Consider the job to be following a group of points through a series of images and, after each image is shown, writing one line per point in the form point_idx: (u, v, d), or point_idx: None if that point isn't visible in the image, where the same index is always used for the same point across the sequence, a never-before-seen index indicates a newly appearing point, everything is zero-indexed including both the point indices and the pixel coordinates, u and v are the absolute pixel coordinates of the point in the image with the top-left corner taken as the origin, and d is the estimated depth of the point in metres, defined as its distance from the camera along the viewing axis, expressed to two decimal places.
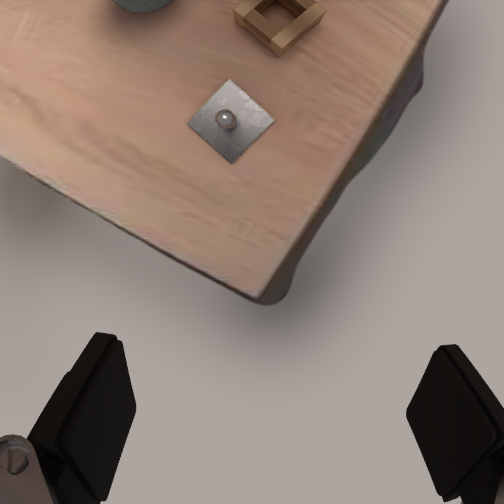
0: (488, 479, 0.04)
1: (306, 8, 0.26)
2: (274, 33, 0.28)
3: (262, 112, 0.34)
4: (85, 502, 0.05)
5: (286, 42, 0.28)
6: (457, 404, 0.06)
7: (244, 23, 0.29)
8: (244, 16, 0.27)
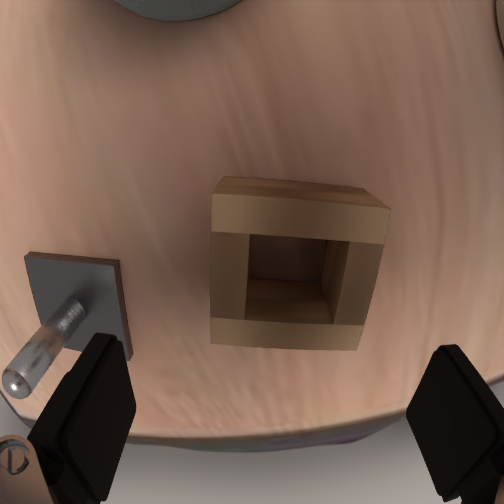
0: (488, 479, 0.04)
1: (335, 321, 0.14)
2: (227, 313, 0.14)
3: None
4: (85, 502, 0.05)
5: (229, 342, 0.15)
6: (457, 404, 0.06)
7: None
8: (216, 230, 0.13)
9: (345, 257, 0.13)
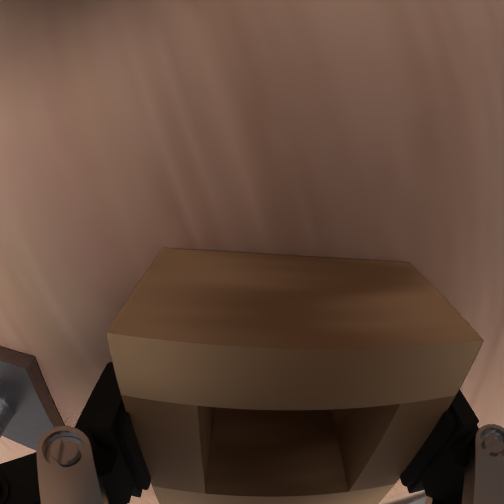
0: (448, 470, 0.05)
1: (353, 488, 0.07)
2: (177, 486, 0.07)
3: None
4: (131, 491, 0.06)
5: None
6: None
7: None
8: (132, 390, 0.06)
9: (384, 418, 0.06)
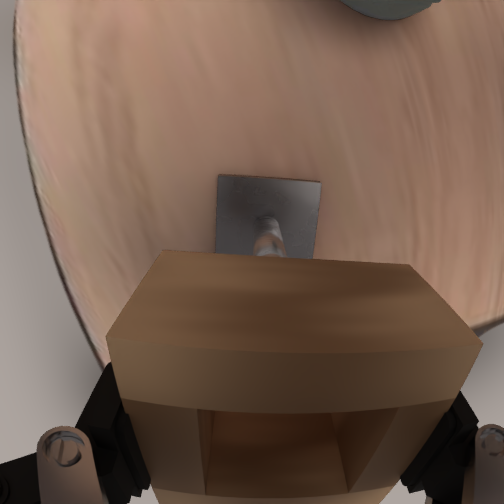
0: (448, 470, 0.05)
1: (352, 490, 0.07)
2: (177, 488, 0.07)
3: (308, 257, 0.23)
4: (131, 491, 0.06)
5: None
6: None
7: None
8: (131, 394, 0.06)
9: (383, 421, 0.06)
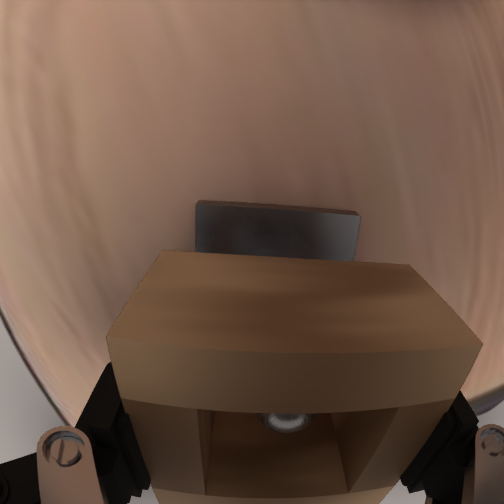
0: (448, 470, 0.05)
1: (352, 490, 0.07)
2: (177, 488, 0.07)
3: None
4: (131, 491, 0.06)
5: None
6: None
7: None
8: (131, 394, 0.06)
9: (383, 421, 0.06)
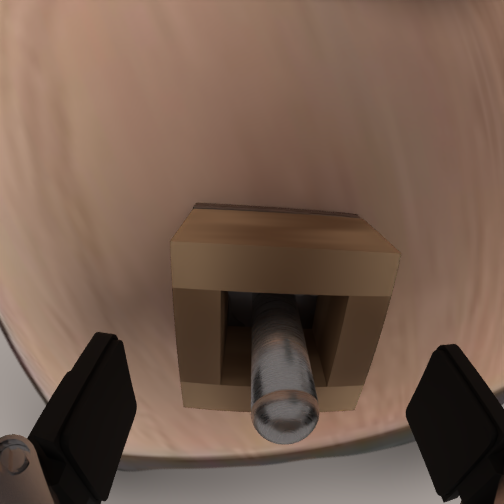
0: (487, 479, 0.04)
1: (329, 384, 0.11)
2: (200, 378, 0.11)
3: None
4: (85, 502, 0.05)
5: (204, 406, 0.12)
6: (456, 404, 0.06)
7: None
8: (179, 285, 0.10)
9: (342, 312, 0.10)
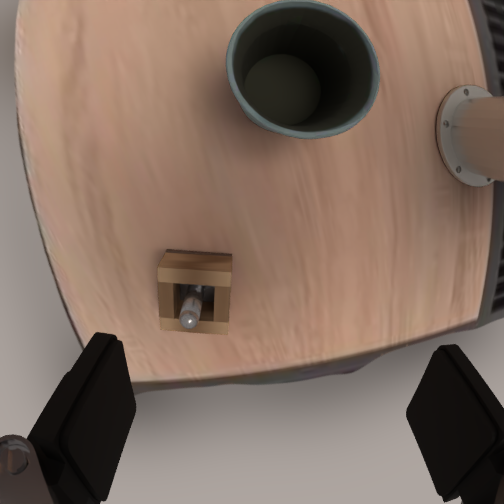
0: (488, 479, 0.04)
1: (214, 320, 0.32)
2: (166, 315, 0.31)
3: None
4: (85, 502, 0.05)
5: (168, 329, 0.32)
6: (457, 404, 0.06)
7: None
8: (159, 281, 0.30)
9: None
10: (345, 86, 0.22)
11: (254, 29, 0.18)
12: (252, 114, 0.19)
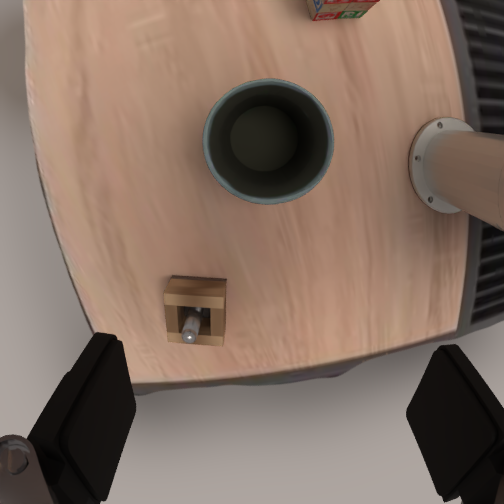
0: (488, 479, 0.04)
1: (211, 334, 0.38)
2: (172, 331, 0.38)
3: None
4: (85, 502, 0.05)
5: (174, 341, 0.39)
6: (457, 404, 0.06)
7: None
8: (166, 304, 0.37)
9: None
10: (311, 144, 0.28)
11: (226, 107, 0.24)
12: (225, 187, 0.25)
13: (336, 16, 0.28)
